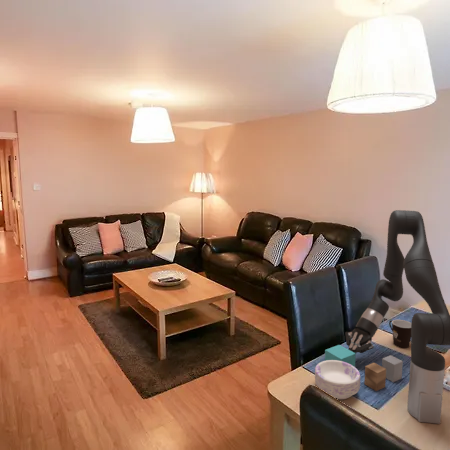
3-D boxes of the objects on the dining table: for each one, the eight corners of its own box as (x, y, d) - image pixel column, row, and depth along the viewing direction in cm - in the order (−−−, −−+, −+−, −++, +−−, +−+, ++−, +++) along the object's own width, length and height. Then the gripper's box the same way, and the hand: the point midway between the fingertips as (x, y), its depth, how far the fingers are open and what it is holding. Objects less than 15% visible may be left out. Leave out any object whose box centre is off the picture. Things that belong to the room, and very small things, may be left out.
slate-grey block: (401, 378, 128) (402, 361, 127) (393, 382, 125) (394, 364, 124) (389, 371, 132) (390, 355, 131) (381, 375, 129) (382, 358, 128)
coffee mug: (414, 350, 148) (416, 328, 146) (393, 348, 149) (394, 327, 148) (406, 337, 159) (407, 317, 158) (386, 336, 161) (387, 316, 159)
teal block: (354, 372, 132) (355, 353, 130) (340, 378, 128) (341, 359, 126) (338, 363, 138) (339, 344, 137) (324, 368, 134) (325, 349, 133)
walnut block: (385, 386, 122) (386, 368, 121) (376, 391, 120) (377, 373, 119) (373, 379, 127) (374, 362, 126) (364, 384, 124) (365, 366, 123)
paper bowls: (306, 384, 125) (306, 364, 123) (339, 375, 130) (340, 355, 129) (333, 410, 111) (333, 387, 109) (369, 399, 116) (370, 377, 115)
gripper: (352, 312, 143) (330, 346, 139) (380, 323, 132) (357, 361, 127) (360, 321, 146) (339, 355, 142) (388, 333, 135) (366, 370, 131)
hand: (348, 358), depth 135 cm, fingers closed
